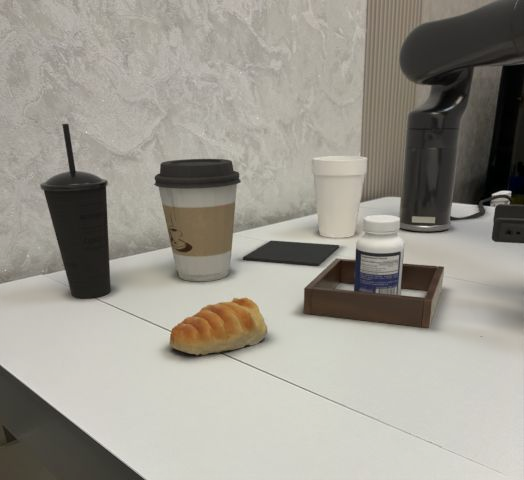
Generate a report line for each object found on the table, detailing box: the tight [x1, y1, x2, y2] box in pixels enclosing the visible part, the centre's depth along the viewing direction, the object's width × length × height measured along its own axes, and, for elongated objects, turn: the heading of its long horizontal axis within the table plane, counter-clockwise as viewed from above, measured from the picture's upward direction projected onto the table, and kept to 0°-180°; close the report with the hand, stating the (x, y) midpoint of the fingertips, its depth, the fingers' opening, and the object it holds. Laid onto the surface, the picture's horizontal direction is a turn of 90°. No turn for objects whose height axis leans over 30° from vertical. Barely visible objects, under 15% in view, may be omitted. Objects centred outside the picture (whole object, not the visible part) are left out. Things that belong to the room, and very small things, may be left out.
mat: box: [242, 240, 340, 267], centre depth 87 cm, size 12×12×1 cm
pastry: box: [169, 297, 268, 356], centre depth 54 cm, size 9×7×4 cm
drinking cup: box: [39, 123, 112, 299], centre depth 66 cm, size 8×8×20 cm
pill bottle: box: [353, 214, 405, 295], centre depth 63 cm, size 5×5×10 cm
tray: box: [303, 257, 445, 329], centre depth 64 cm, size 14×14×3 cm
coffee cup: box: [153, 158, 242, 282], centre depth 74 cm, size 11×11×15 cm
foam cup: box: [311, 155, 368, 239], centre depth 97 cm, size 10×9×13 cm
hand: (493, 221), depth 57 cm, fingers open, 8 cm apart
